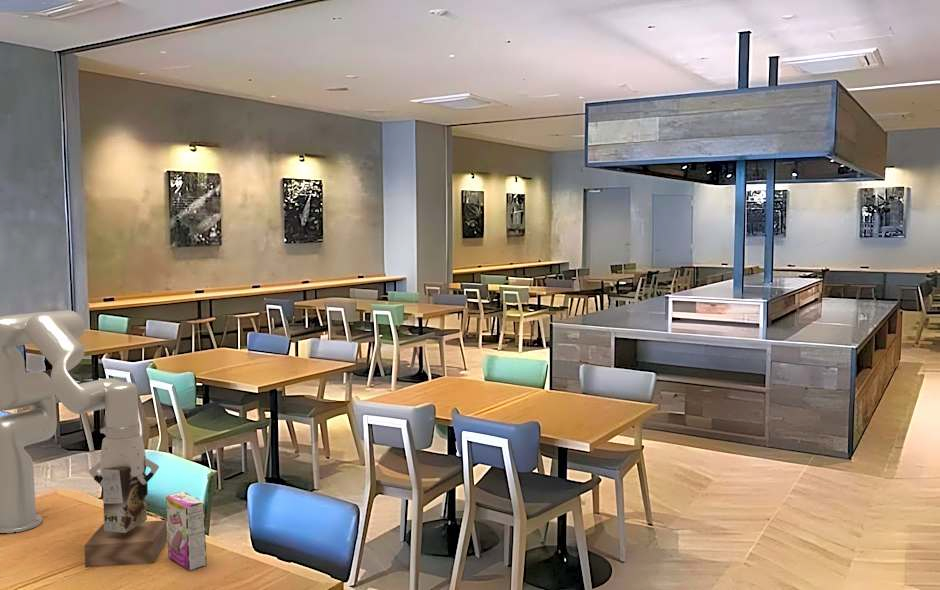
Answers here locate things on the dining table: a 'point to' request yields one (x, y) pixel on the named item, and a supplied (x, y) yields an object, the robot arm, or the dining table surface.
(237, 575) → the dining table surface
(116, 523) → the coffee box
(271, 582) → the dining table surface
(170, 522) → the candy bar box
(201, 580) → the dining table surface
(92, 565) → the walnut box
